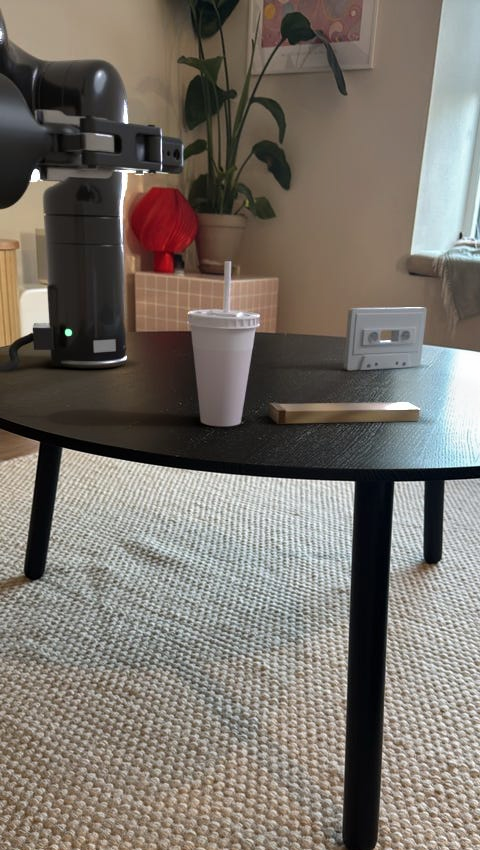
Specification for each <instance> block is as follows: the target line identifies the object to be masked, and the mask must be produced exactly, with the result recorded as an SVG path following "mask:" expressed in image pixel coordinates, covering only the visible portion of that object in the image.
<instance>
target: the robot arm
mask: <svg viewBox="0 0 480 850" xmlns="http://www.w3.org/2000/svg"><path fill="white" fill-rule="evenodd" d="M162 131H163V128H162V127H158V126H157V125H156V124H147V125H144V124H137V123H130V122H129V105H128V96H127V91H126V88H125V84H124V81H123V78H122V76H121V74H120V73H119V71H118V69H117V68H116V67H115V66H114V65H113V64H112V63H111V62H109V61H107V60H105V59H98V58H89V59H88V58H87V59H69V60H46V59H45V60H44V59H41V58H38V57H36V56H35V55H32V54H30V53H29V52H27V51H25V50H24V49H23V48H21V47H20V46H18V45H17V44H16V43H15V42H13V41H12V40H11V39H10V38H9V34H8V28H7V25H6V22H5V18H4V14H3V11H2V9H1V7H0V210H5V209H8V208H11V207H13V206H14V205H15V204H17V203H18V202H19V201H20V199H22V197H23V196H24V195H25V193H26V191H27V190H28V188H29V186H30V183H31V182H32V183H33V182H37V181H38V180H39V181H42V182H43V181H44V182H56V183H55V184H52V185H50V186H48V187H47V188H46V189H45V190H44V191H43V193H42V210H43V211H42V212H43V222H44V223H43V224H44V225H43V226H44V241H45V259H46V262H45V263H46V277H47V278H46V279H47V285H46V291H47V305H48V306H47V310H48V322H34V323H33V325H32V332H30V333H29V334H26V335H23V336H21V337H19V338H17V339H16V340H14V341H13V342H12V344H11V345H10V346H9V348H8V356H9V359H10V361H9V362H7V363H6V364H3V365H0V372H2V373H4V372H12V371H13V370H15V369H16V368H17V367H18V365H19V364H20V357H19V353H18V351H19V349H20V348H22V347H24V346H27V345H28V344H31V343H33V350H34V351H50V362H51V367H62V368H70V369H109V368H115V367H116V368H117V367H121V366H124V365H127V363H128V355H127V340H126V339H127V338H126V336H127V335H126V334H127V333H126V292H125V290H126V289H125V288H126V287H125V247H124V244H125V239H124V218H123V217H124V202H125V198H126V193H127V188H128V173H134V174H135V175H137V176H138V175H139V176H141V175H144V173H148V174H150V175H156V174H165V175H166V174H167V175H180V174H182V173H183V171H184V142H183V140H182V139H181V138H179V137H174V136H173V137H172V136H166V135H163V134H162V133H163V132H162Z"/></svg>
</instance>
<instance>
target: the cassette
mask: <svg viewBox="0 0 480 850" xmlns="http://www.w3.org/2000/svg"><path fill="white" fill-rule="evenodd" d="M427 313H428V309H427V308H426V307H422V306H414V307H413V306H411V307H409V306H408V307H407V306H406V307H351V308H349V309H348V311H347V319H346V320H347V321H346V322H347V323H346V334H345V343H344V345H345V346H344V357H343V358H344V359H343V369H344V370H346V371H349V372H350V371H372V370H389V369H405V368H416V367H420V366H421V363H422V356H423V355H422V354H423V346H424V339H425V331H426V330H425V329H426V320H427ZM384 331H385V332H387V331H389V332H390V331H391V333H390V339H384V340H382V339H381V337H382V335H381V334H382V332H384Z"/></svg>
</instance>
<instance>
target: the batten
mask: <svg viewBox="0 0 480 850" xmlns="http://www.w3.org/2000/svg"><path fill="white" fill-rule="evenodd" d="M420 411H421V409H420V408H419V407H417V406H415V405H414V404H411V403H409V402H407V401H396V402H395V401H392V402H391V401H389V402H388V401H387V402H332V403H331V402H324V403H323V402H322V403H318V402H317V403H316V402H315V403H278V402H270V403H269V418H271V419H272V420H273V421H274V422H275V423H276V424H277V425H293V424H294V425H295V424H299V425H300V424H339V423H340V424H341V423H342V424H343V423H391V422H393V423H394V422H397V423H398V422H419V420H420V419H419V418H420Z"/></svg>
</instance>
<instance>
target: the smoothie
mask: <svg viewBox="0 0 480 850" xmlns="http://www.w3.org/2000/svg"><path fill="white" fill-rule="evenodd" d="M223 270H224V272H223V273H224V274H223V278H224V279H223V307H222V308H223V309H219V308H210V309H194V310H190V311H188V312H187V321H186V324H187V325H189V326H190V332H191V344H192V351H193V352H192V353H193V360H194V369H195V379H196V388H197V389H196V390H197V399H198V406H199V407H198V408H199V409H198V410H199V417H200V423H202V424H204V425H207V426H211V427H234V426H238V425H240V424H241V423H242V417H243V410H244V404H245V398H246V392H247V385H248V380H249V373H250V366H251V360H252V353H253V348H254V342H255V334H256V329H257V328H259V327H260V314H258V313H256V312H253V311H247V310H238V309H237V310H236V309H231V282H232V280H231V279H232V276H231V275H232V261H230V260H225V261H224V269H223Z"/></svg>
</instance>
